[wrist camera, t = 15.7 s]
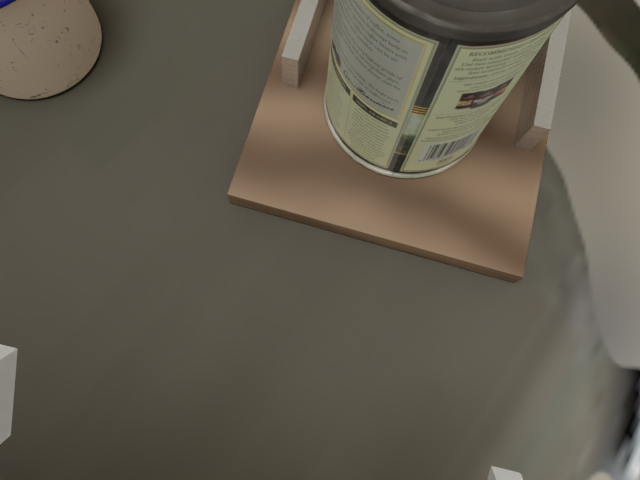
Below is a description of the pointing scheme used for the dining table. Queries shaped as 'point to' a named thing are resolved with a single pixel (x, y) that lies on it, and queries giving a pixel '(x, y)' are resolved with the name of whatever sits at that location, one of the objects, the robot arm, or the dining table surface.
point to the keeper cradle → (537, 87)
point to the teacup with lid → (46, 46)
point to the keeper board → (389, 178)
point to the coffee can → (426, 75)
